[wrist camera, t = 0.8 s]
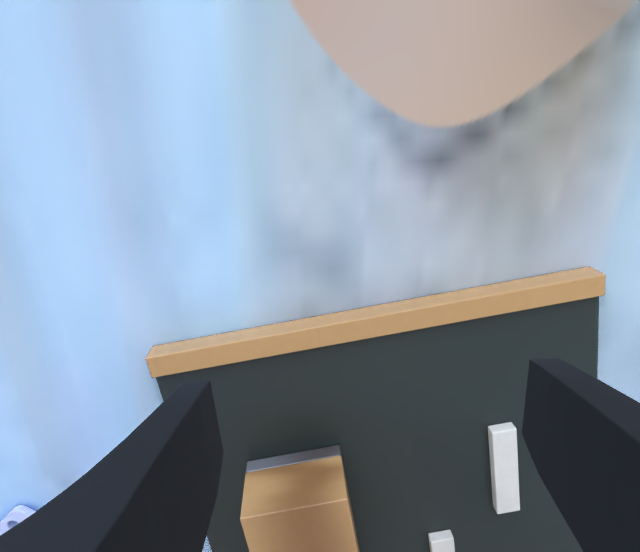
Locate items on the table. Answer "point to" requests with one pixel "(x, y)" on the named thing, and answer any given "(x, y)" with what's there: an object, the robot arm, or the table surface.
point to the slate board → (398, 406)
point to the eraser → (298, 503)
